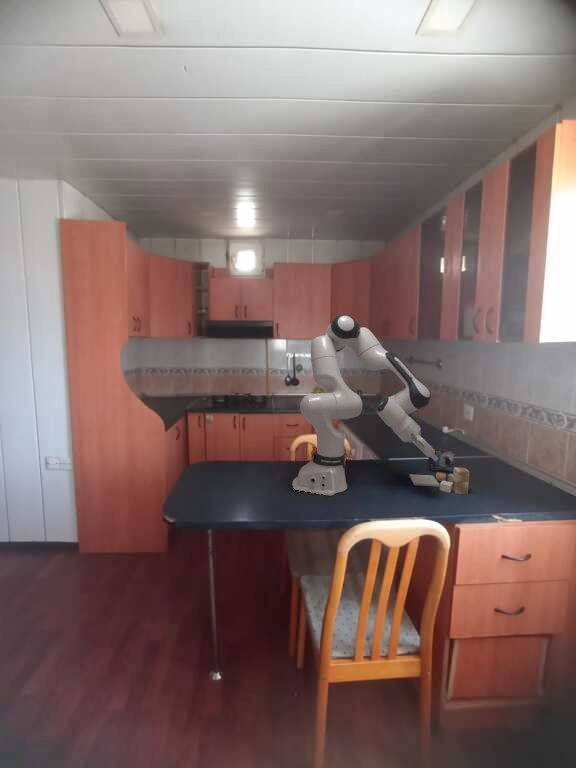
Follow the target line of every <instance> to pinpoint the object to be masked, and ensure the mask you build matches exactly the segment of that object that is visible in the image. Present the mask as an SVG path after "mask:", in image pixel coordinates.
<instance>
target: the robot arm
mask: <svg viewBox="0 0 576 768" xmlns="http://www.w3.org/2000/svg"><path fill="white" fill-rule="evenodd" d="M346 346H347V347H349V348H351V349H352V351H353V352H354V354H355V356H356V357H357V359H358V360H359V363H360V364H361V365H362V367H364V369H367V370H369V371H380V370H390V371H392V372H393V373H395V375H396V376H397V377H398V378H399V380H401V382H402V383H403V384H404V385H405V388H403V389H402V390H399V391H398V392H396V393H395V394H393V395H391V396H385V397H383V398H382V399H380V400H379V401H378V403H377V404H376V407H375V411H376V413H377V415H378V416H379V417H380V419H381V420H382V421H383V422H384V423H385V425H386V426H388V427H389V428H390V429H392V430H393V433H395V435H396V436H397V437H398V438H399V439H400V440H401V441H402V442H403V443H409V444H412V443H413V445H415V446H416V447H417V448H418V449H419V450H420V451H421V452H422V453H423V454H424V455H425V457H427V458H429V457H431V458H432V459H433V460H434V461H437V460H438V457H437V456H436V455H435V450H434V449H433V448H432V447H431V446H432V445H430V443H428V442H427V441H426V440H425V439H424V438H423V437H422V436H421V434H422V432H421V426H420V424H418V423H417V422H416V421H415V420H414V418H412V417H411V416H410V415H409V414H412V413H413V412H415V411H417V410H419V409H422V408H425V407H427V406H429V403H430V400H431V391H430V389H429V388H428V387H427V386H426V385H425V384H424V383H423V382H421V381H420V380H419V379H418V377H417V376H416V375H415V374H414V373H413V372H412V371H411V369H409V367H408V366H407V365H406V364H405V362H404V361H403V360H402V359H401V358H400V357H399V356H398V355H397V353H394V352H393V351H388V350H386V349H385V348H384V347H383V345H382V344H381V343H380V342H379V340H378V338H377V337H376V336H375V335H374V334H373V332H372V331H371V330H370V329H369V328H367V327H363V326H362V327H361V326H360V323H359V322H357V321H356V319H355V318H354V317H353V316H351V315H349V314H348V313H347V314H346V313H341V314H338V315H337V316H336V317H334V318H333V319H332V321H331V322H330V324H329V325H328V326H327V329H326V330H325V332H324V334H323V335H320V336H317V337H315V338H314V339H313V340H312V341H311V343H310V361H311V370H312V376H313V377H312V378H313V381H314V382H315V383H316V384H317V385H319V386H321V387H322V388H324V389H325V390H326V391H327V392H317V393H311V394H307V395H304V396H303V397H302V399H301V401H300V404H299V410H300V413H301V416H302V417H303V418H304V419H305V420H307V422H309V423H310V424H311V425H312V427H313V429H314V431H315V434H316V449H313V450H311V460H310V461H309V462H307V463H306V464H305V465H303V466H302V467H301V468H300V469H299V472H298V474H297V476H296V477H295V478H294V479H293V480H292V486H293V487H292V486H291V487H292V489H293V488H294V489H295V490H299V491H298V492H300V491H305V492H304V493H307V492H311V493H310V494H314V493H316V495H321V494H323V495H322V496H330V497H331V496H334V495H335V494H338V493H341V492H344V491H346V490H347V489H348V483H347V480H346V473H345V467H346V453H345V435H344V433H343V431H341V430H340V429H338V428H336V427H335V426H333V423H332V422H333V421H334V420H337V421H338V420H349V419H352V418H353V419H354V418H356V417H360V415H361V413H362V410H363V400H362V398H361V397H360V396H359V394H358V393H356V392H354V391H353V390H352V389H351V388H350V387H349V386H348V385H347V384H346V382H345V381H344V378H343V377H342V373H341V369H340V364H339V359H338V354H337V352H340V351H342V350H343V349H344V348H345V347H346ZM294 489H293V490H294ZM295 490H294V491H295Z"/></svg>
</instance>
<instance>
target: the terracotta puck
mask: <svg viewBox="0 0 576 768" xmlns="http://www.w3.org/2000/svg"><path fill="white" fill-rule="evenodd" d="M435 479H436V481H437V482H438V483H441V482H442V481H447V474H446V472H437V471H436V473H435Z"/></svg>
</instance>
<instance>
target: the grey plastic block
mask: <svg viewBox="0 0 576 768" xmlns="http://www.w3.org/2000/svg"><path fill="white" fill-rule="evenodd" d="M447 481H448V482H452V483H453V473H448V474H447Z"/></svg>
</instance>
